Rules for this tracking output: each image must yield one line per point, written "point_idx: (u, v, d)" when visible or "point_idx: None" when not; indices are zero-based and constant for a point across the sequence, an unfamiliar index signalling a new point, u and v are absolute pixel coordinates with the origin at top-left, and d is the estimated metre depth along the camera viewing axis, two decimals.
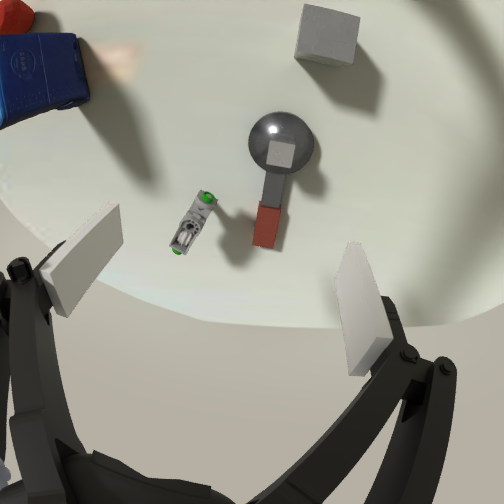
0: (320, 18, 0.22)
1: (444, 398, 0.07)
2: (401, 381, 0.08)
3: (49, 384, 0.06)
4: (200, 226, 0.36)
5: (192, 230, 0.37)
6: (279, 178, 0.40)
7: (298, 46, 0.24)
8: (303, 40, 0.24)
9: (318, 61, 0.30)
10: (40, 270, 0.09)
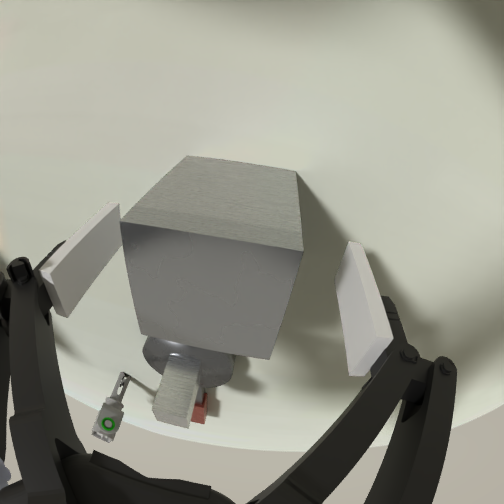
0: (172, 266, 0.10)
1: (444, 398, 0.07)
2: (401, 381, 0.08)
3: (49, 384, 0.06)
4: (111, 437, 0.25)
5: None
6: None
7: (141, 327, 0.12)
8: (148, 318, 0.12)
9: None
10: (40, 270, 0.09)
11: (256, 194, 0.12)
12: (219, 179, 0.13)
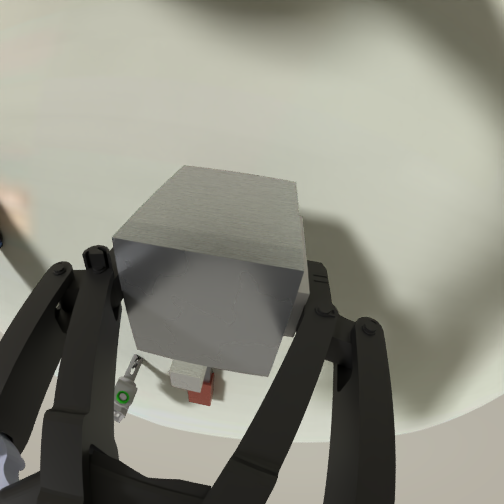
0: (167, 284, 0.10)
1: (375, 359, 0.08)
2: (323, 337, 0.09)
3: (100, 385, 0.07)
4: (124, 413, 0.29)
5: (118, 412, 0.30)
6: None
7: (137, 343, 0.12)
8: (143, 334, 0.11)
9: None
10: None
11: (255, 207, 0.12)
12: (217, 191, 0.13)
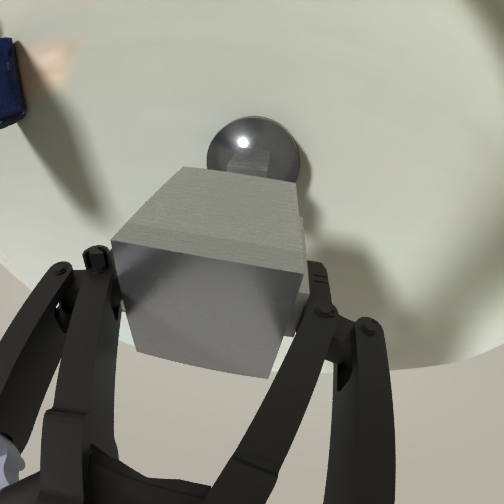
0: (166, 287, 0.09)
1: (375, 360, 0.08)
2: (323, 337, 0.09)
3: (101, 385, 0.07)
4: None
5: None
6: None
7: (137, 345, 0.12)
8: (143, 336, 0.11)
9: None
10: None
11: (254, 209, 0.12)
12: (216, 193, 0.13)
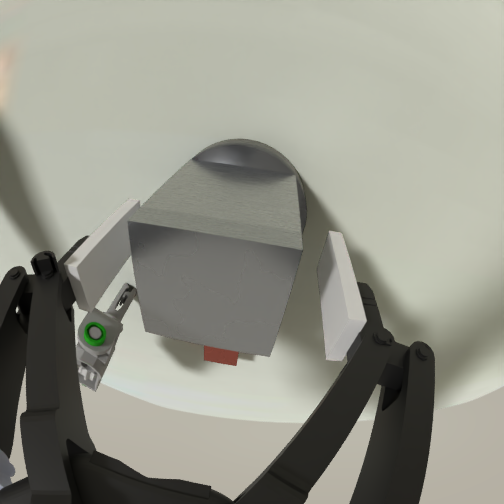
0: (177, 264, 0.10)
1: (423, 383, 0.07)
2: (377, 364, 0.08)
3: (66, 383, 0.07)
4: (99, 370, 0.18)
5: (92, 369, 0.18)
6: None
7: (146, 324, 0.13)
8: (152, 315, 0.12)
9: None
10: (65, 264, 0.10)
11: (258, 196, 0.13)
12: (222, 182, 0.14)
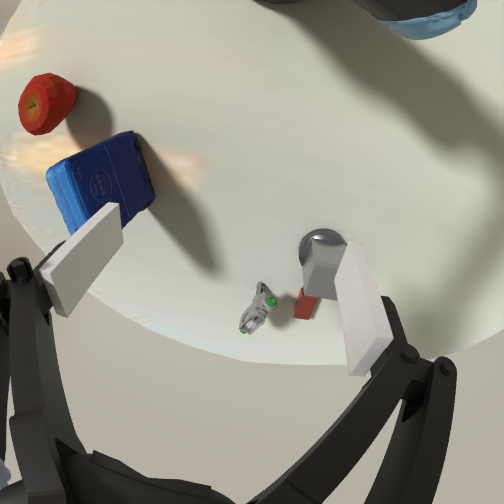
0: (324, 274, 0.43)
1: (444, 398, 0.07)
2: (401, 381, 0.08)
3: (49, 384, 0.06)
4: None
5: (258, 320, 0.51)
6: None
7: (305, 292, 0.45)
8: (310, 289, 0.45)
9: None
10: (40, 270, 0.09)
11: (338, 255, 0.45)
12: (327, 250, 0.46)
